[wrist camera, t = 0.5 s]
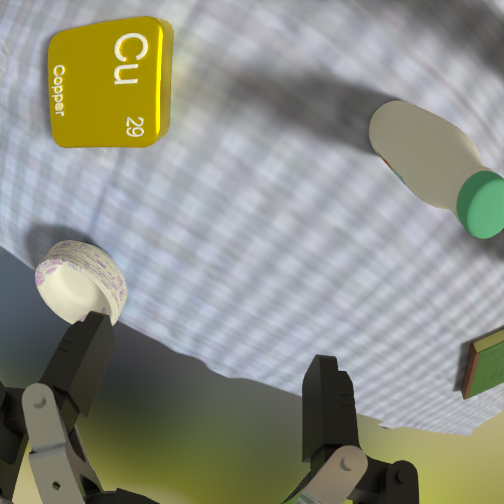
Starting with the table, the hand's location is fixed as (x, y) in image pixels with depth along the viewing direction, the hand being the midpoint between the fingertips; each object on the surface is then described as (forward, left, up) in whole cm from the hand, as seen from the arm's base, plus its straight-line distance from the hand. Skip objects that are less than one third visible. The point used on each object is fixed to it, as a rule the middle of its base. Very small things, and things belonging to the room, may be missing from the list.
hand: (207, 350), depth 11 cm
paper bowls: (+33, +4, -29) cm, 44 cm away
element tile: (+10, -16, -29) cm, 35 cm away
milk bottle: (-16, +6, -29) cm, 33 cm away
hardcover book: (-30, +69, -29) cm, 81 cm away
